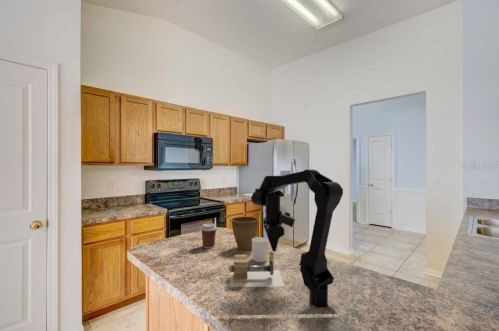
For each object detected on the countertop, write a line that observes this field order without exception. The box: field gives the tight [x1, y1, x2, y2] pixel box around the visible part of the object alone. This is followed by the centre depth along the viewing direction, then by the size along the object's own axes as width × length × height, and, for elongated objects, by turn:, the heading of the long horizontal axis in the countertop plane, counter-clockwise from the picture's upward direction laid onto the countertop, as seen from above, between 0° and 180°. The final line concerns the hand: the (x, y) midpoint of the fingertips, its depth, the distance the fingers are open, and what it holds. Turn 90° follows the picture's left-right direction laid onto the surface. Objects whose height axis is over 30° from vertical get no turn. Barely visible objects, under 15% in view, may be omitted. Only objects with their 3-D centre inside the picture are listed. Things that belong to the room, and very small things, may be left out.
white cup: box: [251, 236, 269, 263], centre depth 111 cm, size 8×8×10 cm
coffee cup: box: [200, 223, 218, 249], centre depth 131 cm, size 9×9×12 cm
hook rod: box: [228, 251, 275, 275], centre depth 92 cm, size 5×18×9 cm, turn 92°
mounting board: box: [228, 269, 286, 288], centre depth 92 cm, size 14×20×1 cm
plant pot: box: [230, 216, 259, 251], centre depth 129 cm, size 15×15×16 cm
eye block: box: [233, 254, 248, 283], centre depth 92 cm, size 8×5×8 cm, turn 2°
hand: (272, 247), depth 92 cm, fingers open, 9 cm apart
